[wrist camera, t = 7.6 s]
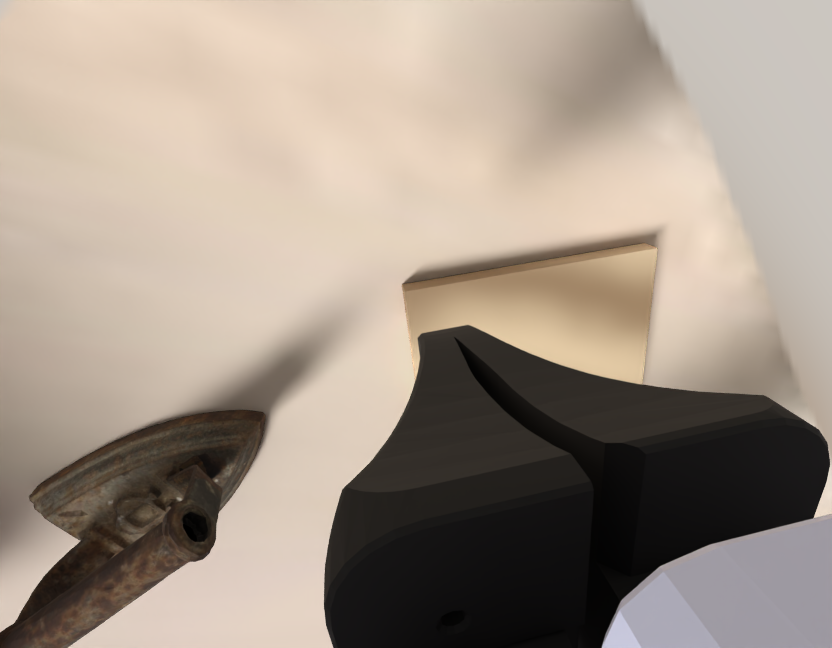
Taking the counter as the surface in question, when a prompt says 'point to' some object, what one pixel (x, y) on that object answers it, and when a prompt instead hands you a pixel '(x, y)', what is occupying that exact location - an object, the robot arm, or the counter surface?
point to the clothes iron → (133, 519)
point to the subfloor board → (550, 308)
